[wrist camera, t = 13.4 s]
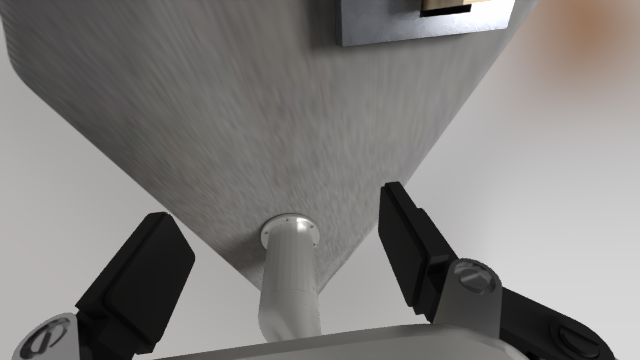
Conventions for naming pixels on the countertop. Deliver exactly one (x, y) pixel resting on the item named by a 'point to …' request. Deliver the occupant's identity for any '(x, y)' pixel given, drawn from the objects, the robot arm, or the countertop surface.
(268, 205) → the countertop surface
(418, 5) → the rail
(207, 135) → the countertop surface
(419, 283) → the robot arm
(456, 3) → the peg
